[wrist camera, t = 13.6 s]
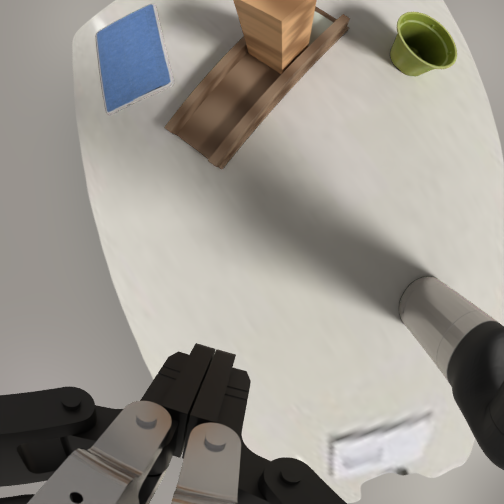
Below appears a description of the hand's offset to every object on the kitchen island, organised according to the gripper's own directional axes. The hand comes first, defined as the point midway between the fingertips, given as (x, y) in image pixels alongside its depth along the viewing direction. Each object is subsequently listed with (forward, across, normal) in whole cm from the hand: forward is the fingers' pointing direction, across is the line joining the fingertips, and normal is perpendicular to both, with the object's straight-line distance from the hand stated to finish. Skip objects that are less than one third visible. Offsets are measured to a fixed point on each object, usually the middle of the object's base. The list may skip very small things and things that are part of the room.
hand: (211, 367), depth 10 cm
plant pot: (+32, -15, -33) cm, 48 cm away
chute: (+32, +6, -23) cm, 40 cm away
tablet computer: (+33, +29, -24) cm, 50 cm away
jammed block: (+31, +4, -27) cm, 41 cm away
